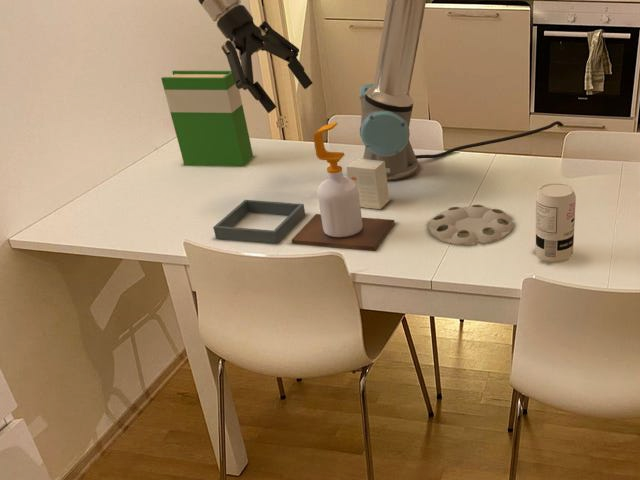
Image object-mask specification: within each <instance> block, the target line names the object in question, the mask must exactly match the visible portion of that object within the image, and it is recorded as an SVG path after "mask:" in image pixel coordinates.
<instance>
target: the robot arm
mask: <svg viewBox="0 0 640 480" xmlns="http://www.w3.org/2000/svg"><path fill="white" fill-rule="evenodd" d="M197 1H198V2H199V4H200V5H201V7H202V8H203V10H204V11H205V12H206V13H207V15H208V16H209V18H210V19H211V20H212V21H213V22H215V23H216V27H217V28H218V30H219V31H220V32H221V34H222V35H223V36H224V38H225V39H227V40H226V41H225V42H224V43H223V44H222V45H221V50H222V51H223V53H224V55H225V56H226V59H227V62H228V64H229V69H230V71H231V72H232V75H233V78H234V81H235V84H236V87H237V88H238V89H239V90H241V89H242V90H244V91H248V92H249V93H250V94H251V96H252V97H253V98H254V99H255V100H256V101H257V102H259V103H260V104H261V106H262V107H263V108H264V109H265V111H266V112H267V113H268V114H270V113H271V112H272V111H273V110H275V109H276V108H277V105H276V104H275V103H274V101H273V99H272V98H271V97H270V96H269V95H268V93H267V91H266V90H265V89H264V88H263V87H262V85H261V84H260V82H259V81H258V80H257V81H254V70H253V61H252V56H253V55H254V54H255V53H258V52H259V51H262V52H267V53H268V54H271V55H274V56H275V57H277V58H279V59H281V60H283V61H286V62H287V64H286V66H287V67H288V69H289V70H290V71H291V73H292V74H293V75H294V76H295V78H296V79H297V81H298V82H299V84H300V85H301V86H302V88H303V89H304V90H307V89H308V88H309V87H310V86H311V85H313V84H314V83H313V81H312V80H311V78H310V77H309V75H308V74H307V73H306V71H305V68H304V66H303V65H302V63H301V62H300V60H299V59H298V57H299V53H300V49H299V47H297V46H296V45H294V44H293V43H292V42H291V41H289V40H288V39H287V38H286V37H284V36H283V35H282V34H280V33H279V32H278V31H276V30H275V29H273V27H271V25H270V24H269V23H268V22H267V20H263V21H262V22H261V23H260V24H259V26H258V25H256V24H255V22H254V17H253V16H252V15H251V13H250V11H249V10H248V9H247V8H246V6H245V5H243V4H242V1H241V0H197ZM426 4H427V0H386V5H385V11H384V17H383V24H382V30H381V37H380V43H379V47H378V56H377V61H376V68H375V74H374V80H373V82H372V83H367V84H364V85H361V86H360V88H359V99H360V107H361V115H360V116H361V117H360V126H359V136H360V138H361V141H362V143H363V145H364V151H363V156H362V159H368V160H379V161H385V167H386V175H387V182H388V181H397V180H402V179H406V178H409V177H412V176H413V175H415V174H416V173H417V172H418V170H419V162H418V160H419V159H437V158H441V157H445V156H447V155H449V154H452V153H455V152H457V151H463V150H466V149H470V148H476V147H482V146H486V145H491V144H496V143H502V142H506V141H507V142H508V141H511V140H515V139H519V138H523V137H526V136H531V135H534V134H537V133H541V132H543V131H546V130H549V129H551V128H553V127H555V126H559V127H564V123H562V122H561V121H559V120H557V121H553V122H552V123H549V124H548V125H545V126H541V127H539V128H536V129H533V130H530V131H525V132H522V133H518V134H514V135H509V136H505V137H500V138H495V139H490V140H484V141H480V142H475V143H468V144H464V145H459V146H455V147H453V148H451V149H448V150H445V151H442V152H439V153H434V154H415V151H414V148H413V146H412V144H411V142H410V136H411V133H410V125H411V124H410V123H411V119H412V113H413V109H414V103H415V101H414V99H413V98H412V96H411V95H410V90H411V84H412V79H413V75H414V74H413V73H414V67H415V63H416V58H417V52H418V47H419V42H420V38H421V37H420V35H421V31H422V25H423V19H424V15H425V10H426ZM237 50H238V51H237ZM238 54H239V55H238Z"/></svg>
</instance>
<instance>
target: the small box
mask: <svg viewBox="0 0 640 480" xmlns="http://www.w3.org/2000/svg"><path fill="white" fill-rule="evenodd" d="M345 167H346V175H347V178H349V179H350V180H352V181H353V182H355V184H356V186H357V188H358V193H359V201H360V208H365V209H376V210H381V209H382V208H384V207H385V206H386V204H387V203H389V202H390V199H391V198H390V193H389V191H390V190H389V185H388V181H387V175H386V167H385V161H379V160H368V159H363V158H355V159H354V160H353V161H351V162H350V163H349V164H348V165H346V166H345Z"/></svg>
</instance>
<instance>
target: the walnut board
mask: <svg viewBox="0 0 640 480" xmlns="http://www.w3.org/2000/svg"><path fill="white" fill-rule="evenodd" d="M395 221H396V220H395V219H386V218H375V217H374V218H373V217H362V223H363V227H362V230H361V231H360V232H358V233H356V234H354V235H352V236H348V237H332V236H328V235H327V234H325V232H324V230H323V225H322V219H321V213H315V214H314V216H313V217H311V219H310V220H309V221H308V222H307V223H306V224H305V225H304V226H303V227H302V228H301V229H300V230H299V231H298V233H296V234H295V236H294V237H293V238H292V239H291V244H292V245H304V246H314V247H325V248H326V247H327V248H338V249H350V250H362V251H373V252H375V251H377V249H378V247H379V246H380V245H381V243H382V242H383V241H384V239H385V238H386V236H387V235H388V234H389V232H390V231H391V229H392V228H393V227H394V226H395V224H396V222H395Z"/></svg>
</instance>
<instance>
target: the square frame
mask: <svg viewBox="0 0 640 480" xmlns="http://www.w3.org/2000/svg"><path fill="white" fill-rule="evenodd" d="M249 213H252V214H264V215H265V214H267V215H280V216H287V217H286V218H285V219H283V221H281V222H280V223H279V225H277V227H276V228H275V229H274V230H271V229H260V228H249V227H247V228H246V227H235V225H237V224H238V223H239V222H240V221H241V220H242V219H244V217H245V216H247V215H248V214H249ZM305 217H306V210H305V204H304V203H297V202H296V203H295V202H294V203H293V202H281V201H269V200H257V199H256V200H254V199H244V200H243V201H242V202H240V203H239V204H238V205H237V206H236V207H235V208H234V209H232V210H231V211H230V212H229V213H228V214H226V216H225V217H223V218H222V219H221V220H219V221H218V222H217V223H216V224H215V225H214V226H213V227H212V228H213V233H214V235H215V240H224V241H225V240H226V241H237V242H249V243H261V244H270V245H271V244H272V245H279V243H281V241H283V239H284V238H285V237H286V236H287V235H288V234H289V233H290V232H291V231H292V230H293V229H294V228H295V227H296V226H297V225H298V224H299V223H300V222H301V221H302V220H303V218H305Z"/></svg>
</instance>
